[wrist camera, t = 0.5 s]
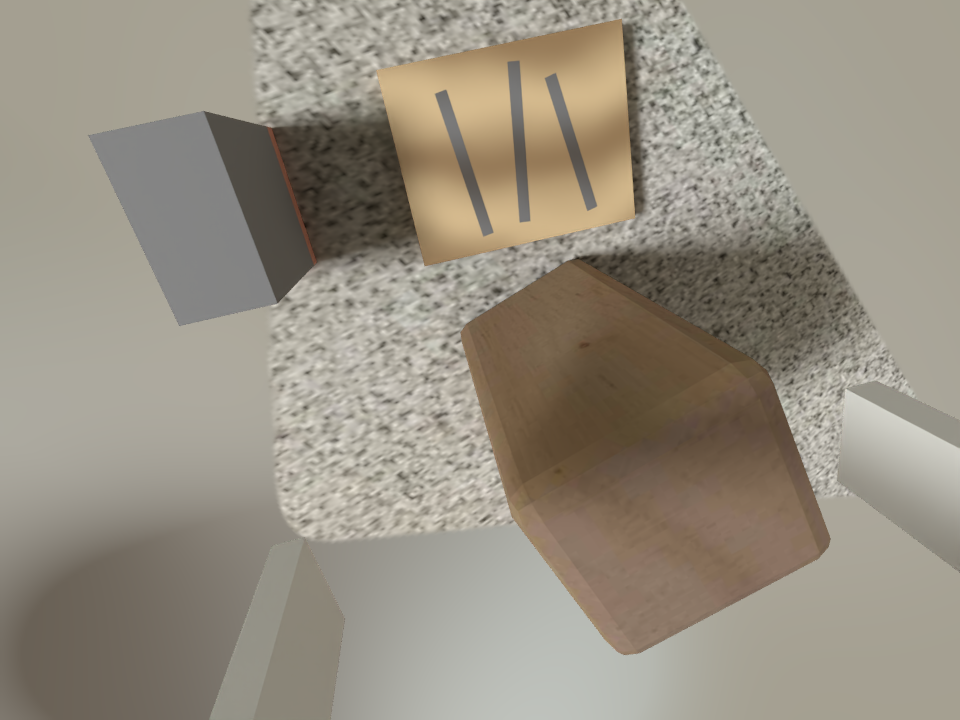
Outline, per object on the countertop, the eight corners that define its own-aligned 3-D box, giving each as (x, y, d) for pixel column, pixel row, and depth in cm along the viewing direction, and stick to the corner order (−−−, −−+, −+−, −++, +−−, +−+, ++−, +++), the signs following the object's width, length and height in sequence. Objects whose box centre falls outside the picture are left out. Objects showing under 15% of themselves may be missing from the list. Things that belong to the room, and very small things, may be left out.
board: (378, 74, 28) (376, 70, 26) (611, 25, 28) (621, 18, 27) (424, 261, 32) (424, 266, 31) (625, 215, 33) (635, 218, 31)
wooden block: (576, 250, 33) (780, 358, 15) (632, 361, 37) (849, 556, 19) (453, 326, 34) (502, 517, 16) (521, 427, 38) (623, 675, 20)
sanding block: (194, 144, 28) (88, 135, 19) (271, 127, 28) (203, 111, 19) (247, 277, 31) (179, 325, 22) (316, 262, 31) (277, 303, 22)
